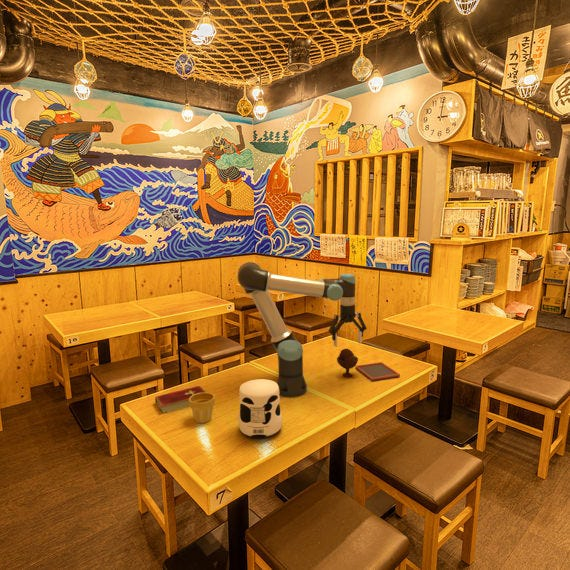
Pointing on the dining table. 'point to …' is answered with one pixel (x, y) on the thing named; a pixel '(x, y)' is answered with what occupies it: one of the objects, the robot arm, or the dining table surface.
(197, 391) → the hardcover book
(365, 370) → the serving tray
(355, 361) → the ice cream bowl
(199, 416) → the plant pot
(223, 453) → the dining table surface
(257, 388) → the milk container
